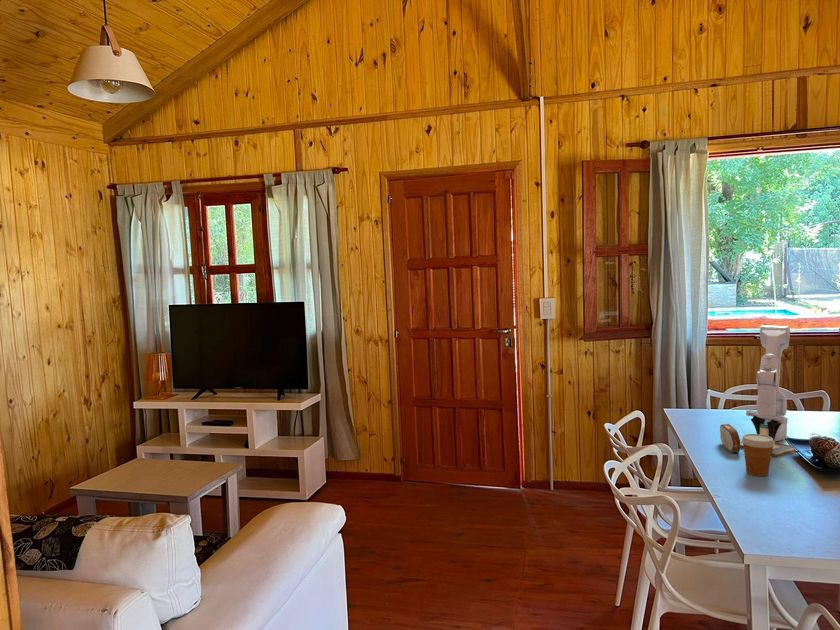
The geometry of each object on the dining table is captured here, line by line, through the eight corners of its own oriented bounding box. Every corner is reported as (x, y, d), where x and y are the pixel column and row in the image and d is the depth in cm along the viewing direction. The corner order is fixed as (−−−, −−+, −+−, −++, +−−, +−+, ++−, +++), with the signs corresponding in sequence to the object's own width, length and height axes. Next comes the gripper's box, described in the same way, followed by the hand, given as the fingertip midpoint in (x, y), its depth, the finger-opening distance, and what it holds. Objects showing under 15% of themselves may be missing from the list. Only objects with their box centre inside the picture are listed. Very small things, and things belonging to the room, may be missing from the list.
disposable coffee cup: (734, 470, 202) (735, 435, 201) (754, 466, 206) (755, 431, 205) (760, 480, 194) (761, 443, 193) (780, 475, 197) (781, 439, 196)
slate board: (756, 440, 234) (757, 437, 234) (798, 451, 220) (798, 447, 220) (733, 446, 228) (733, 443, 228) (775, 457, 214) (775, 454, 214)
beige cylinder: (763, 440, 226) (764, 422, 226) (774, 443, 223) (774, 424, 222) (757, 442, 225) (757, 424, 224) (767, 445, 221) (767, 426, 220)
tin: (741, 455, 218) (741, 432, 217) (731, 455, 218) (732, 432, 218) (727, 442, 233) (727, 421, 232) (718, 442, 233) (718, 421, 232)
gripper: (741, 400, 227) (740, 435, 228) (779, 407, 214) (778, 445, 215) (753, 397, 230) (752, 432, 232) (791, 405, 217) (790, 442, 219)
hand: (765, 438), depth 224 cm, fingers closed on beige cylinder, 4 cm apart
